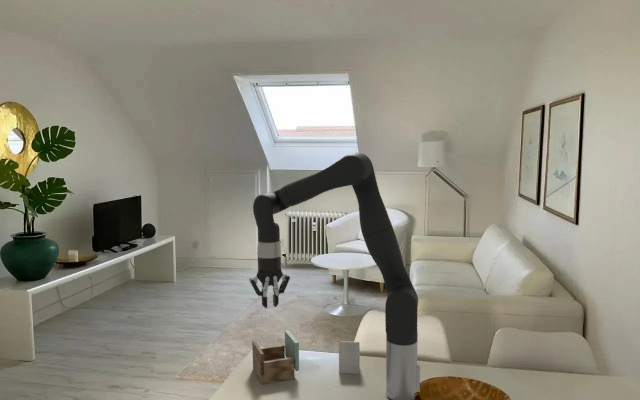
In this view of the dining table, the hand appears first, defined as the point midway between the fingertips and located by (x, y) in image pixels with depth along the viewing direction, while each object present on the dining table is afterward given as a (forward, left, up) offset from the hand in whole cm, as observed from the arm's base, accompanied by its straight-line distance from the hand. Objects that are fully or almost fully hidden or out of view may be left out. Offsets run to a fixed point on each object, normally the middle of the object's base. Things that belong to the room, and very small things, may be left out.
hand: (270, 306), depth 166 cm
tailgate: (-7, 0, -20) cm, 21 cm away
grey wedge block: (-25, +7, -23) cm, 35 cm away
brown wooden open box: (-1, 0, -23) cm, 23 cm away
